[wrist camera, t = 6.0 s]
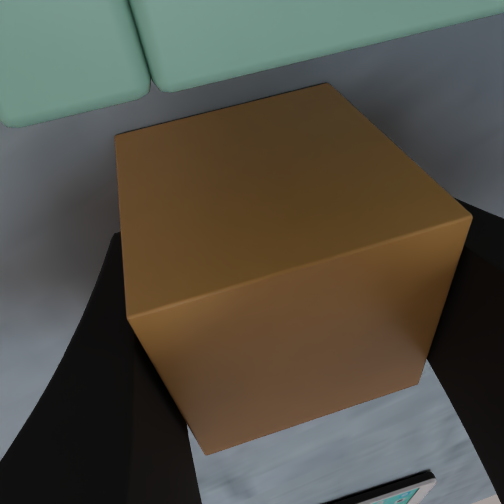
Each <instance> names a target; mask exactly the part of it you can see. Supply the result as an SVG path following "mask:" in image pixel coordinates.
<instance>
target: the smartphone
mask: <svg viewBox="0 0 504 504" xmlns="http://www.w3.org/2000/svg"><path fill="white" fill-rule="evenodd" d="M435 484H436V478H435V476H434V474H433V473H432V472H427V473H424V474H421V475H418V476H415V477H412V478H408V479H405V480H402V481H399V482H396V483H393V484H390V485H387V486H384V487H381V488H378V489H375V490H372V491H369V492H366V493H363V494H360V495H357V496H354V497H351V498H348V499H345V500H342V501H339V502H336V503H333V504H419V502H420V501H421V500H422V499H423V498H424V497H425V495H426V494H427V493H428V492H429V491H430V490H431V489H432V487H433V486H434V485H435Z"/></svg>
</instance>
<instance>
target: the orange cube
mask: <svg viewBox="0 0 504 504" xmlns="http://www.w3.org/2000/svg"><path fill="white" fill-rule="evenodd" d="M115 151H116V166H117V181H118V196H119V211H120V226H121V241H122V256H123V271H124V286H125V301H126V316H127V320H128V322H129V323H130V325H131V327H132V329H133V330H134V332H135V334H136V336H137V337H138V339H139V341H140V343H141V344H142V346H143V348H144V350H145V351H146V353H147V355H148V357H149V358H150V360H151V362H152V363H153V365H154V367H155V369H156V370H157V372H158V374H159V376H160V377H161V379H162V381H163V383H164V384H165V386H166V388H167V390H168V391H169V393H170V395H171V397H172V398H173V400H174V402H175V404H176V405H177V407H178V409H179V411H180V412H181V414H182V416H183V418H184V419H185V421H186V423H187V424H188V426H189V428H190V430H191V431H192V433H193V435H194V437H195V438H196V440H197V442H198V444H199V445H200V447H201V449H202V451H203V452H204V454H205V455H210V454H213V453H216V452H219V451H222V450H225V449H228V448H231V447H234V446H237V445H239V444H242V443H245V442H248V441H251V440H254V439H257V438H260V437H263V436H266V435H269V434H272V433H275V432H278V431H281V430H284V429H287V428H290V427H293V426H296V425H299V424H302V423H305V422H308V421H310V420H313V419H316V418H319V417H322V416H325V415H328V414H331V413H334V412H337V411H340V410H343V409H346V408H349V407H352V406H355V405H358V404H361V403H364V402H367V401H370V400H373V399H376V398H379V397H382V396H384V395H387V394H390V393H393V392H396V391H399V390H402V389H405V388H408V387H411V386H414V385H417V384H418V383H419V380H420V377H421V374H422V371H423V368H424V365H425V362H426V359H427V356H428V353H429V350H430V347H431V344H432V341H433V338H434V335H435V332H436V329H437V325H438V322H439V319H440V316H441V313H442V310H443V307H444V304H445V301H446V298H447V295H448V292H449V289H450V286H451V283H452V280H453V277H454V274H455V271H456V268H457V265H458V261H459V258H460V255H461V252H462V249H463V246H464V243H465V240H466V237H467V234H468V231H469V228H470V225H471V222H472V219H473V216H472V214H471V213H469V212H468V211H467V210H466V209H465V208H464V207H463V206H462V205H461V204H460V203H459V202H457V201H456V200H455V199H454V198H453V197H452V196H451V195H450V194H449V193H448V192H447V191H446V190H444V189H443V188H442V187H441V186H440V185H439V184H438V183H437V182H436V181H435V180H434V179H432V178H431V177H430V176H429V175H428V174H427V173H426V172H425V171H424V170H423V169H422V168H420V167H419V166H418V165H417V164H416V163H415V162H414V161H413V160H412V159H411V158H410V157H409V156H407V155H406V154H405V153H404V152H403V151H402V150H401V149H400V148H399V147H398V146H397V145H395V144H394V143H393V142H392V141H391V140H390V139H389V138H388V137H387V136H386V135H385V134H384V133H382V132H381V131H380V130H379V129H378V128H377V127H376V126H375V125H374V124H373V123H372V122H370V121H369V120H368V119H367V118H366V117H365V116H364V115H363V114H362V113H361V112H360V111H359V110H357V109H356V108H355V107H354V106H353V105H352V104H351V103H350V102H349V101H348V100H347V99H345V98H344V97H343V96H342V95H341V94H340V93H339V92H338V91H337V90H336V89H335V88H334V87H332V86H331V85H330V84H329V83H325V84H321V85H317V86H313V87H309V88H305V89H301V90H297V91H293V92H289V93H285V94H280V95H276V96H272V97H268V98H264V99H260V100H256V101H252V102H248V103H244V104H240V105H236V106H232V107H228V108H224V109H220V110H216V111H212V112H208V113H204V114H200V115H196V116H192V117H188V118H184V119H180V120H176V121H171V122H167V123H163V124H159V125H155V126H151V127H147V128H143V129H139V130H135V131H131V132H127V133H123V134H119V135H116V136H115Z"/></svg>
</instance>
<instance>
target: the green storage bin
mask: <svg viewBox="0 0 504 504" xmlns="http://www.w3.org/2000/svg"><path fill="white" fill-rule="evenodd" d="M501 13H504V0H0V121H1V122H2V123H3V124H4V125H5V126H6V127H13V128H21V127H26V126H30V125H34V124H38V123H43V122H47V121H51V120H55V119H59V118H63V117H68V116H72V115H76V114H80V113H84V112H88V111H93V110H97V109H101V108H105V107H109V106H113V105H118V104H122V103H126V102H130V101H134V100H138V99H140V98H142V97H143V96H145V95H146V94H148V93H149V91H150V84H151V78H152V81H153V82H154V84H155V85H156V86H157V87H158V89H159V90H160V91H162V92H170V93H173V92H177V91H181V90H185V89H189V88H194V87H198V86H202V85H206V84H210V83H214V82H219V81H223V80H227V79H231V78H235V77H239V76H244V75H248V74H252V73H256V72H260V71H264V70H268V69H273V68H277V67H281V66H285V65H289V64H293V63H298V62H302V61H306V60H310V59H314V58H318V57H322V56H327V55H331V54H335V53H339V52H343V51H347V50H352V49H356V48H360V47H364V46H368V45H372V44H377V43H381V42H385V41H389V40H393V39H397V38H401V37H406V36H410V35H414V34H418V33H422V32H426V31H431V30H435V29H439V28H443V27H447V26H451V25H456V24H460V23H464V22H468V21H472V20H476V19H480V18H485V17H489V16H493V15H497V14H501Z"/></svg>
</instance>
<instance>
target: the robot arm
mask: <svg viewBox="0 0 504 504" xmlns="http://www.w3.org/2000/svg"><path fill="white" fill-rule="evenodd" d="M453 198H454V197H453ZM454 199H455V200H456V201H457V202H459V203H460V204H461V205H462V206H463V207H464V208H465V209H466V210H467V211H468V212H469V213H471V214H472V216H473V219H472V222H471V225H470V228H469V231H468V234H467V237H466V240H465V243H464V246H463V249H462V252H461V255H460V258H459V261H458V265H457V268H456V271H455V274H454V277H453V280H452V283H451V286H450V289H449V292H448V295H447V298H446V301H445V304H444V307H443V310H442V313H441V316H440V319H439V322H438V325H437V329H436V332H435V335H434V338H433V341H432V344H431V347H430V350H429V353H428V356H427V360H428V362H429V363H430V365H431V367H432V369H433V371H434V372H435V374H436V376H437V378H438V380H439V381H440V383H441V385H442V387H443V388H444V390H445V392H446V394H447V396H448V397H449V399H450V401H451V403H452V405H453V407H454V409H455V411H456V413H457V415H458V416H459V418H460V420H461V422H462V424H463V426H464V428H465V430H466V432H467V434H468V435H469V437H470V439H471V442H472V444H473V446H474V448H475V450H476V452H477V454H478V456H479V458H480V460H481V462H482V464H483V466H484V468H485V470H486V472H487V474H488V476H489V478H490V480H491V482H492V484H493V487H494V489H495V491H496V493H497V495H498V498H499V500H500V502H501V504H504V219H503V218H501V217H498V216H496V215H493V214H491V213H488V212H486V211H483V210H481V209H479V208H476V207H474V206H472V205H469V204H467V203H465V202H463V201H460V200H458V199H456V198H454ZM0 504H202V502H201V498H200V493H199V488H198V483H197V478H196V473H195V468H194V463H193V458H192V452H191V447H190V442H189V437H188V429H187V423H186V421H185V419H184V418H183V416H182V414H181V412H180V411H179V409H178V407H177V405H176V404H175V402H174V400H173V398H172V397H171V395H170V393H169V391H168V390H167V388H166V386H165V384H164V383H163V381H162V379H161V377H160V376H159V374H158V372H157V370H156V369H155V367H154V365H153V363H152V362H151V360H150V358H149V357H148V355H147V353H146V351H145V350H144V348H143V346H142V344H141V343H140V341H139V339H138V337H137V336H136V334H135V332H134V330H133V329H132V327H131V325H130V323H129V322H128V320H127V316H126V301H125V286H124V271H123V256H122V241H121V232H118V233H115V234H114V235H113V237H112V239H111V241H110V244H109V248H108V251H107V254H106V257H105V259H104V262H103V265H102V268H101V271H100V273H99V276H98V279H97V281H96V284H95V287H94V289H93V291H92V294H91V296H90V299H89V301H88V304H87V306H86V308H85V311H84V313H83V316H82V318H81V320H80V322H79V324H78V327H77V329H76V331H75V333H74V335H73V337H72V339H71V341H70V343H69V345H68V347H67V349H66V352H65V354H64V356H63V358H62V360H61V362H60V363H59V365H58V367H57V369H56V371H55V373H54V375H53V377H52V378H51V380H50V382H49V384H48V386H47V387H46V389H45V391H44V393H43V394H42V396H41V398H40V399H39V401H38V403H37V405H36V406H35V408H34V410H33V411H32V413H31V415H30V416H29V418H28V419H27V421H26V422H25V424H24V426H23V427H22V429H21V430H20V432H19V433H18V435H17V437H16V438H15V440H14V441H13V443H12V444H11V446H10V447H9V449H8V451H7V452H6V454H5V455H4V457H3V458H2V460H1V461H0Z"/></svg>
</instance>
